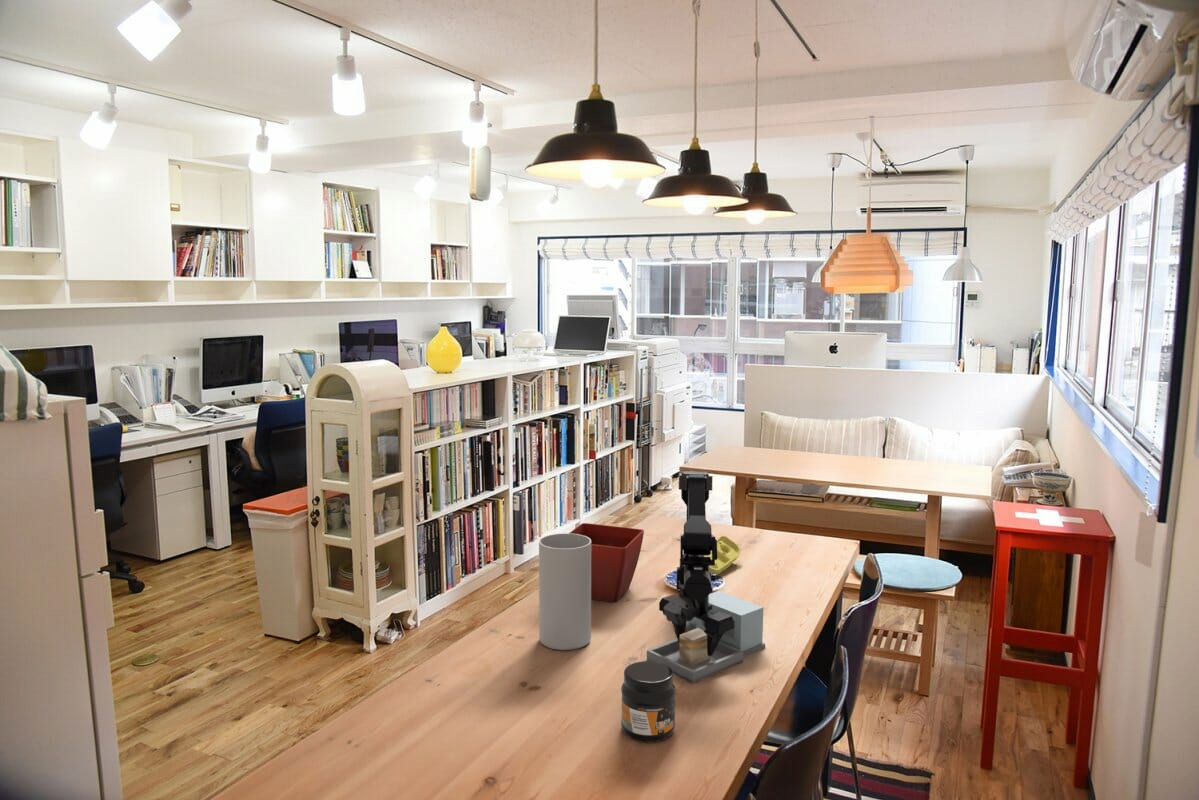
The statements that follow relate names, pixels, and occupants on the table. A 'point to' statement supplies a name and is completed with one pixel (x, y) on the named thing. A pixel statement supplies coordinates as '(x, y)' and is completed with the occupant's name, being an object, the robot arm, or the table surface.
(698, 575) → the robot arm
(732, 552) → the plastic component
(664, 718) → the supplement container
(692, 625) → the chrome-capped short cylinder
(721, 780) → the table surface
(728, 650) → the parts tray
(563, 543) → the cylinder vase
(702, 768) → the table surface
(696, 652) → the block
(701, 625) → the box
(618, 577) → the plant pot
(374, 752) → the table surface
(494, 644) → the table surface
